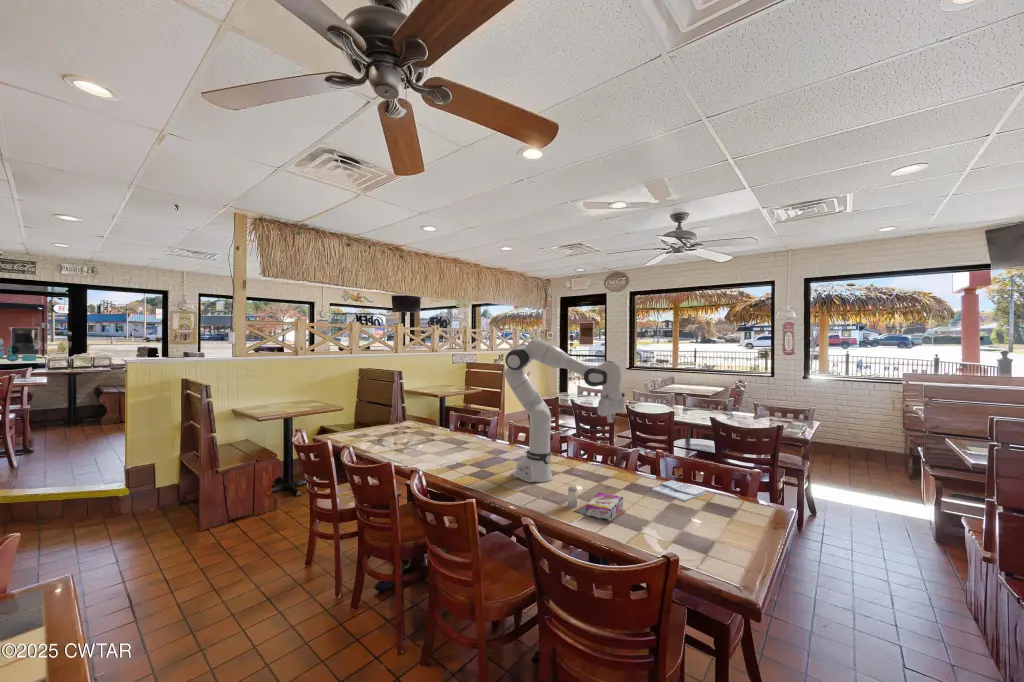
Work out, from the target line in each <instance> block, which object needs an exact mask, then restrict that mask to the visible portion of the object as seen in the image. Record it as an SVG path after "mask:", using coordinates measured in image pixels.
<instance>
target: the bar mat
mask: <svg viewBox="0 0 1024 682" xmlns="http://www.w3.org/2000/svg"><path fill="white" fill-rule="evenodd" d="M586 504H587V503H585V504H583V505H582V506H579V507H578V508H576V509H575V510H574V513H577V514H581V515H584V516H586V517H589V518H593V519H595V520H599V521H601V522H605V523H607V524H609V523H611V522H612V521H614V520H615V519H617V518H618V517H620V516H622V515H623V514H624V513H625V512H626V510H625V509H621V511H620V512H619V513H618V514H617V515H616V516H615V518H614V519H613V520H612V521H609V520H605V519H601V518H597V517H592V516H588V515H586Z"/></svg>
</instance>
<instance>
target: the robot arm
mask: <svg viewBox="0 0 1024 682" xmlns="http://www.w3.org/2000/svg"><path fill="white" fill-rule="evenodd" d="M532 360H534V361H537V362H539V363H541V364H543V365H545V366H547V367H551V368H554V369H566V370H568V371H571V372H573V373H576V374H578V375H580V376H582V377H583V381H584V383H585V384H586V385H588V387H599V386H601V387H602V391H601V393H602V395H601V397H600V398H599V400H598V404H597V415H599V416H606V419H607V421H606V422H607V423H609V424H610V423H614V420H615V417H616V414H617V413H621V412H623V411H624V409H625V396H626V393H625V392H624V391H622V387H621V381H622V367H621V365H620V363H618V362H616V361H611V360H605V361H603V363H600V364H597V365H589V364H586V363H584V362H582V361H580V360H578V359H575V358H574V357H572V356H570V355H569V354H568V353H566V352H565V351H564V350H563V349H562V348H560V347H558V346H557V345H554V344H552V343H550V342H549V341H547V340H543V339H540V338H532V339H530V340H529V341H528V343H527V344H525V343H524V344H519V345H517V346H515V347H513V348H512V349H511V350H510V351H508V353H507V354H506V355H505V363H506V366H507V367H506V368H505V370H504V371H503V372H504V373H503V375H504V378H505V379H506V382H507V384H508V386H509V387H510V389H511V390H512V393H513V394H514V397H516V399H517V400H518V401H519V404H521V405H522V408H523V409H524V410H525V411H526V413H527V414H528V416H529V430H528V431H529V436H528V438H529V440H528V441H529V443H528V450H526V451H525V452H524V454H526V456H525V457H524V458H522V459H520V461H518V462H517V463H516V466H515V467H516V468H515V470H513V471H512V472H511V475H512V476H514V477H515V478H518V479H520V480H522V481H525V482H527V483H545V482H550V481H552V480H553V478H554V477H553V474H552V469H551V468H552V467H551V459H552V458H551V455H552V454H551V427H552V425H551V424H552V413H551V411H550V408H549V406H548V405H547V403H546V402H545V400H544V398H542V396H541V395H540V393H539V391H538V390H537V389H536V387H535V385H534V384H533V382H532V380H531V379H530V377H529V376H528V375H527V372H526V369H525V367H527V366H528V365H529V363H530V362H531V361H532Z"/></svg>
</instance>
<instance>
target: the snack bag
mask: <svg viewBox="0 0 1024 682" xmlns="http://www.w3.org/2000/svg"><path fill="white" fill-rule="evenodd" d="M650 491H653V492H656V493H658V494H659V493H660V494H662V495H665V496H667V497H669V498H670V497H671V498H674V499H676V500H677V501H678V500H679V501H680V502H686V501H689V500H691V499H695V498H698V497H701V496H704V495H706V493H707V492H706V491H707V489H703V488H701V487H697V486H693V485H690V484H686V483H683V482H678V481H675V480H668V481H664V482H661V483H660V485H659V486H656V487H653V488H651V489H650Z"/></svg>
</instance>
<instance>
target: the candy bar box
mask: <svg viewBox="0 0 1024 682" xmlns="http://www.w3.org/2000/svg"><path fill="white" fill-rule="evenodd" d="M585 504H586V515H588V516H587V517H589V516H592V517H597V518H601V519H605V520H609V521H611V522H612V521H614V520H615V519H616V518H615V516H616V515H617V514H618V513H619V512H620V511H621V510H623V508H624V497H623V496H619V495H614V494H610V493H604V492H598V493H597V494H596V495H594V497H592V498H591V499H590V500H589V501H588V502H586V503H585ZM586 515H585V516H586ZM592 517H591V518H592ZM614 518H615V519H614ZM613 519H614V520H613Z"/></svg>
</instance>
